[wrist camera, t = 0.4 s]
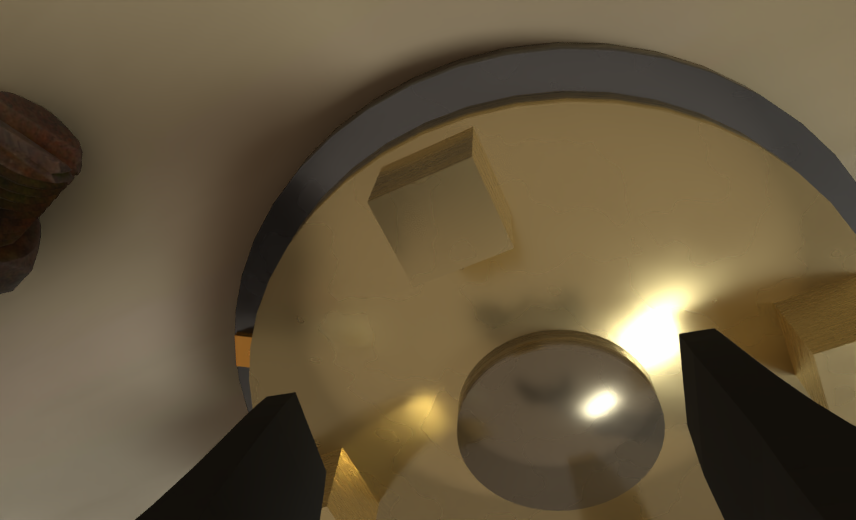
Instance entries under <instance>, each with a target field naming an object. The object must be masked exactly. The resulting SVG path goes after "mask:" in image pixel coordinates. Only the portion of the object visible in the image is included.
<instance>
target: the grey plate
mask: <svg viewBox="0 0 856 520" xmlns="http://www.w3.org/2000/svg"><path fill="white" fill-rule="evenodd" d="M554 91H589V92H612V93H618V94H624V95H631V96H637V97H643V98H649V99H655V100H659V101H662V102H666V103H669V104H672V105H675V106H679V107H682V108H685V109H688V110H692V111H695V112H698V113H701V114H703V115H706V116H708V117H710V118H712V119H714V120H716V121H718V122H720V123H723V124H725V125H727V126H729V127H731V128H733V129H735V130H738V131H740V132H742V133H743V134H745V135H746V136H748V137H749V138H751V139H752V140H754V141H755V142H757V143H758V144H760V145H761V146H763V147H764V148H766V149H767V150H769V151H770V152H772V153H773V154H775V155H776V156H778V157H779V158H780V159H782V160H783V161H784V162H785V163H787V164H788V165H789V166H790V167H792V168H793V169H794V170H795V171H797V172H798V173H799V174H800V175H801V176H802V177H804V178H805V179H806V180H807V181H808V182H809V183H810V184H811V185H812V186H813V187H814V188H816V189H817V190H818V191H819V192H820V193H821V194H822V195H823V196H824V197H825V198H826V199H828V200H829V201H830V202H831V203H832V205H833V206H834V207H835V208H836V210H837V211H838V212H839V213H840V215H841V216H842V217H843V219H844V220H845V221H846V222H847V224H848V225H849V226H850V228H851V229H852V230H853V231H854V233H855V234H856V182H855V180H854V179H853V178H852V176H851V175H850V174H849V172H848V171H847V170H846V168H845V167H844V166H843V165H842V163H841V162H840V161H839V159H838V158H837V157H836V155H835V154H834V153H833V152H832V151H831V150H829V149H828V148H827V147H826V146H825V145H824V144H823V143H822V142H821V141H820V140H819V139H818V138H817V137H816V136H815V135H814V134H813V133H811V132H810V131H809V130H808V129H807V128H806V127H805V126H804V125H803V124H802V123H801V122H799V121H798V120H796V119H795V118H793V117H792V116H790V115H789V114H787V113H786V112H784V111H783V110H781V109H780V108H778V107H777V106H776V105H774V104H773V103H771V102H770V101H768V100H767V99H765V98H764V97H762V96H761V95H759V94H757V93H756V92H754V91H753V90H751V89H749V88H748V87H746V86H744V85H742V84H740V83H738V82H736V81H734V80H732V79H729V78H727V77H725V76H723V75H721V74H719V73H717V72H715V71H713V70H711V69H709V68H706V67H704V66H702V65H698V64H695V63H692V62H689V61H686V60H682V59H679V58H676V57H673V56H669V55H666V54H663V53H660V52H656V51H650V50H644V49H638V48H632V47H625V46H619V45H613V44H603V43H562V42H556V43H547V44H538V45H529V46H519V47H510V48H505V49H500V50H496V51H492V52H488V53H484V54H480V55H476V56H472V57H468V58H464V59H460V60H457V61H455V62H452V63H449V64H447V65H444V66H442V67H439V68H437V69H434V70H432V71H429V72H427V73H424V74H422V75H419V76H416V77H414V78H412V79H410V80H409V81H407V82H405V83H403V84H401V85H400V86H398V87H396V88H394V89H393V90H391V91H389V92H387V93H385V94H384V95H382V96H380V97H378V98H376V99H375V100H373V101H372V102H370V103H369V104H368V105H366V106H365V107H364V108H362V109H361V110H360V111H358V112H357V113H356V114H355V115H353V116H352V117H351V118H349V119H348V120H347V121H345V122H344V123H343V124H341V125H340V126H339V127H337V128H336V129H335V130H334V131H333V132H332V134H331V135H330V136H329V137H328V138H327V139H326V140H325V141H324V142H323V143H322V144H321V145H320V146H319V147H318V148H317V149H316V150H315V151H314V152H313V153H312V154H311V155H310V156H309V157H308V158H307V159H306V160H305V162H304V163H303V165H302V166H301V167H300V169H299V170H298V171H297V173H296V174H295V175H294V177H293V178H292V179H291V181H290V182H289V183H288V185H287V186H286V187H285V189H284V190H283V192H282V193H281V194H280V196H279V197H278V198H277V200H276V201H275V202H274V204H273V205H272V207H271V209H270V211H269V213H268V215H267V217H266V219H265V221H264V223H263V224H262V226H261V228H260V230H259V232H258V234H257V236H256V238H255V240H254V242H253V245H252V248H251V251H250V254H249V257H248V260H247V263H246V266H245V269H244V271H243V274H242V279H241V284H240V290H239V296H238V301H237V307H236V319H235V351H236V366H238V374H239V381H240V384H241V388H242V391H243V395H244V398H245V402H246V405H247V408H248V412H250V411H251V410H252V409H253V407H252V399H251V391H250V383H249V369H250V346H251V341H252V336H253V331H254V325H255V320H256V315H257V312H258V309H259V306H260V303H261V301H262V298H263V295H264V293H265V290H266V287H267V284H268V282H269V279H270V277H271V276H272V274H273V272H274V270H275V268H276V267H277V265H278V263H279V261H280V259H281V258H282V256H283V254H284V252H285V251H286V249H287V247H288V245H289V244H290V242H291V240H292V239H293V237H294V235H295V233H296V232H297V230H298V228H299V227H300V225H301V224H302V223H303V222H304V220H305V219H306V218H307V216H308V215H309V214H310V212H311V211H312V210H313V209H314V207H315V206H316V205H317V203H318V202H319V201H320V200H321V198H322V197H323V196H324V195H325V194H326V193H327V192H328V191H329V190H330V189H331V188H332V187H333V186H334V185H335V184H336V183H337V182H338V181H339V180H340V179H341V178H342V177H344V176H345V175H346V174H347V173H348V172H349V171H350V170H351V169H352V168H353V167H354V166H356V165H357V164H359V163H360V162H361V161H363V160H364V159H365V158H367V157H368V156H370V155H371V154H372V153H374V152H375V151H377V150H378V149H379V148H381V147H382V146H383V145H385V144H386V143H388V142H390V141H392V140H394V139H395V138H397V137H399V136H401V135H403V134H405V133H407V132H408V131H410V130H412V129H414V128H416V127H418V126H420V125H422V124H423V123H425V122H428V121H431V120H433V119H436V118H438V117H441V116H444V115H446V114H449V113H452V112H454V111H457V110H460V109H462V108H465V107H468V106H472V105H476V104H480V103H484V102H489V101H493V100H497V99H501V98H506V97H510V96H515V95H524V94H534V93H544V92H554Z"/></svg>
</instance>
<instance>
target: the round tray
mask: <svg viewBox="0 0 856 520" xmlns="http://www.w3.org/2000/svg"><path fill="white" fill-rule="evenodd" d="M712 328H715V329H716V330H718V331H719V332H721V333H722V334H723V335H725V336H726V337H727V338H728V339H730V340H731V341H732V342H733V343H735V344H736V345H737V346H739V347H740V348H741V349H742V350H744V351H745V352H746V353H748V354H749V355H750V356H751V357H753V358H754V359H755V360H757V361H758V362H759V363H761V364H762V365H763V366H765V367H766V368H767V369H769V370H770V371H771V372H773V373H774V374H776V375H777V376H778V377H780V378H781V379H783V380H784V381H785V382H787V383H788V384H790V385H791V386H793V387H794V388H796V389H797V390H798V391H800V392H801V393H803V394H804V395H806V396H807V397H809V398H810V399H812V400H813V401H815V402H816V403H818V404H819V405H821V406H823V407H824V408H826V409H828V410H829V411H831V412H832V413H834V414H836V415H837V416H839V417H841V418H842V419H844V420H845V421H847V422H849V423H851V424H852V425H854V426H856V234H855V233H854V231H853V230H852V229H851V228H850V226H849V225H848V224H847V222H846V221H845V220H844V219H843V217H842V216H841V215H840V213H839V212H838V211H837V210H836V208H835V207H834V206H833V205H832V203H831V202H830V201H829V200H828V199H826V198H825V197H824V196H823V195H822V194H821V193H820V192H819V191H818V190H817V189H816V188H814V187H813V186H812V185H811V184H810V183H809V182H808V181H807V180H806V179H805V178H804V177H802V176H801V175H800V174H799V173H798V172H797V171H795V170H794V169H793V168H792V167H790V166H789V165H788V164H787V163H785V162H784V161H783V160H782V159H780V158H779V157H778V156H776V155H775V154H773V153H772V152H770V151H769V150H767V149H766V148H764V147H763V146H761V145H760V144H758V143H757V142H755V141H754V140H752V139H751V138H749V137H748V136H746V135H745V134H743V133H742V132H740V131H738V130H735V129H733V128H731V127H729V126H727V125H725V124H723V123H720V122H718V121H716V120H714V119H712V118H710V117H708V116H706V115H703V114H701V113H698V112H695V111H692V110H688V109H685V108H682V107H679V106H675V105H672V104H669V103H666V102H662V101H659V100H655V99H649V98H643V97H637V96H631V95H624V94H618V93H612V92H589V91H554V92H544V93H534V94H524V95H515V96H510V97H506V98H501V99H497V100H493V101H489V102H484V103H480V104H476V105H472V106H468V107H465V108H462V109H460V110H457V111H454V112H452V113H449V114H446V115H444V116H441V117H438V118H436V119H433V120H431V121H428V122H425V123H423V124H422V125H420V126H418V127H416V128H414V129H412V130H410V131H408V132H407V133H405V134H403V135H401V136H399V137H397V138H395V139H394V140H392V141H390V142H388V143H386V144H385V145H383V146H382V147H381V148H379V149H378V150H377V151H375V152H374V153H372V154H371V155H370V156H368V157H367V158H365V159H364V160H363V161H361V162H360V163H359V164H357V165H356V166H354V167H353V168H352V169H351V170H350V171H349V172H348V173H347V174H346V175H345V176H344V177H342V178H341V179H340V180H339V181H338V182H337V183H336V184H335V185H334V186H333V187H332V188H331V189H330V190H329V191H328V192H327V193H326V194H325V195H324V196H323V197H322V198H321V200H320V201H319V202H318V203H317V205H316V206H315V207H314V209H313V210H312V211H311V212H310V214H309V215H308V216H307V218H306V219H305V220H304V222H303V223H302V224H301V225H300V227H299V228H298V230H297V232H296V233H295V235H294V237H293V239H292V240H291V242H290V244H289V245H288V247H287V249H286V251H285V252H284V254H283V256H282V258H281V259H280V261H279V263H278V265H277V267H276V268H275V270H274V272H273V274H272V276H271V277H270V279H269V282H268V284H267V287H266V290H265V293H264V295H263V298H262V301H261V303H260V306H259V309H258V312H257V315H256V320H255V325H254V331H253V336H252V341H251V346H250V369H249V383H250V391H251V399H252V407H253V408H254V407H255V406H256V405H257V404H259V403H260V402H261V401H262V400H263V399H264V398H266V397H267V396H274V395H280V394H287V393H293V392H296V394H297V397H298V400H299V402H300V405H301V407H302V410H303V413H304V415H305V418H306V420H307V423H308V425H309V428H310V431H311V433H312V436H313V438H314V441H315V444H316V446H317V449H318V451H319V454H320V457H321V459H322V462H323V464H324V467H325V470H326V480H325V488H324V496H323V503H322V509H321V516H320V520H724V518H723V516H722V514H721V512H720V509H719V507H718V505H717V503H716V501H715V499H714V497H713V494H712V492H711V490H710V488H709V486H708V484H707V481H706V479H705V477H704V475H703V472H702V469H701V466H700V463H699V460H698V457H697V454H696V451H695V448H694V445H693V442H692V439H691V435H690V432H689V429H688V426H687V418H686V408H685V397H684V387H683V376H682V366H681V355H680V345H679V334H680V333H686V332H693V331H699V330H706V329H712Z"/></svg>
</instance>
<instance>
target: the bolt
mask: <svg viewBox="0 0 856 520" xmlns="http://www.w3.org/2000/svg"><path fill="white" fill-rule="evenodd" d="M82 153H83V152H82V149H81V146H80V143H79V141H78V140H77V138H76V137H75V136H74V135H73V134H72V133H71V131H70V130H69V129H68V128H67V127H66V126H65V125H64V124H63V123H62V122H61V121H59V120H58V119H57V118H56V117H55V116H54V115H53V114H51V113H50V112H49V111H47V110H46V109H45V108H43V107H42V106H39V105H37V104H35V103H33V102H31V101H29V100H27V99H24V98H22V97H20V96H18V95H15V94H12V93H9V92H0V294H2V293H6V292H10V291H13V290H14V289H15V288H16V287H17V286H18V284H19V283H20V282H21V281H22V280H23V279H24V278H25V277H26V276H27V275H28V274H29V273H30V272H31V271H32V268H33V265H34V262H35V259H36V256H37V253H38V249H39V244H40V238H41V224H40V222H39V219H38V217H39V216H40V215H41V214H42V213H43V212H44V211H45V210H46V208H47V207H48V206H50V205H51V203H52V202H53V200H54V199H56V198H57V197H58V195H59V194H60V192H61V191H62V190H63V189H65V188H66V187H67V185H69V184H70V183H71V182H72V180H73V179H74V176H75V175H78V174H79V173H80V171H81V166H82Z"/></svg>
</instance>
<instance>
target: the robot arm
mask: <svg viewBox="0 0 856 520" xmlns="http://www.w3.org/2000/svg"><path fill="white" fill-rule="evenodd" d="M679 345H680V355H681V366H682V376H683V387H684V397H685V408H686V418H687V426H688V429H689V432H690V435H691V439H692V442H693V445H694V448H695V451H696V454H697V457H698V460H699V463H700V466H701V469H702V472H703V475H704V477H705V479H706V481H707V484H708V486H709V488H710V490H711V492H712V494H713V497H714V499H715V501H716V503H717V505H718V507H719V509H720V512H721V514H722V516H723V518H724V520H856V426H854V425H852V424H851V423H849V422H847V421H845V420H844V419H842V418H841V417H839V416H837V415H836V414H834V413H832V412H831V411H829V410H828V409H826V408H824V407H823V406H821V405H819V404H818V403H816V402H815V401H813V400H812V399H810V398H809V397H807V396H806V395H804V394H803V393H801V392H800V391H798V390H797V389H796V388H794V387H793V386H791V385H790V384H788V383H787V382H785V381H784V380H783V379H781V378H780V377H778V376H777V375H776V374H774V373H773V372H771V371H770V370H769V369H767V368H766V367H765V366H763V365H762V364H761V363H759V362H758V361H757V360H755V359H754V358H753V357H751V356H750V355H749V354H748V353H746V352H745V351H744V350H742V349H741V348H740V347H739V346H737V345H736V344H735V343H733V342H732V341H731V340H730V339H728V338H727V337H726V336H725V335H723V334H722V333H721V332H719V331H718V330H716V329H715V328H712V329H706V330H699V331H693V332H686V333H680V334H679ZM325 480H326V470H325V467H324V464H323V462H322V459H321V457H320V454H319V451H318V449H317V446H316V444H315V441H314V438H313V436H312V433H311V431H310V428H309V425H308V423H307V420H306V418H305V415H304V413H303V410H302V407H301V405H300V402H299V400H298V397H297V394H296V392H293V393H287V394H280V395H274V396H267V397H266V398H264V399H263V400H262V401H261V402H260V403H259V404H257V405H256V406H255V407H254V408H253V409H252V410H251V411H250V412H249V413H248V414H247V415H246V416H245V417H244V418H243V419H242V420H241V421H240V422H239V423H238V424H237V425H236V426H235V427H234V428H233V429H232V430H231V431H230V432H229V433H228V434H227V435H226V436H225V437H224V438H223V439H222V440H221V441H220V442H219V443H218V444H217V445H216V446H215V447H214V448H213V449H212V450H211V451H210V452H209V453H208V454H207V455H206V456H205V457H204V458H203V459H202V460H201V461H200V462H199V463H198V464H196V465H195V466H194V467H193V468H192V469H191V470H190V471H189V472H188V473H187V474H186V475H185V476H184V477H183V478H181V479H180V480H179V481H178V482H177V483H176V484H175V485H174V486H173V487H172V488H171V489H169V490H168V491H167V492H166V493H165V494H164V495H163V496H162V497H161V498H160V499H159V500H157V501H156V502H155V503H154V504H153V505H152V506H151V507H150V508H148V509H147V510H146V511H145V512H144V513H143V514H141V515H140V516H139V517H138V518H137V519H135V520H320V516H321V509H322V503H323V496H324V488H325Z"/></svg>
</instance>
